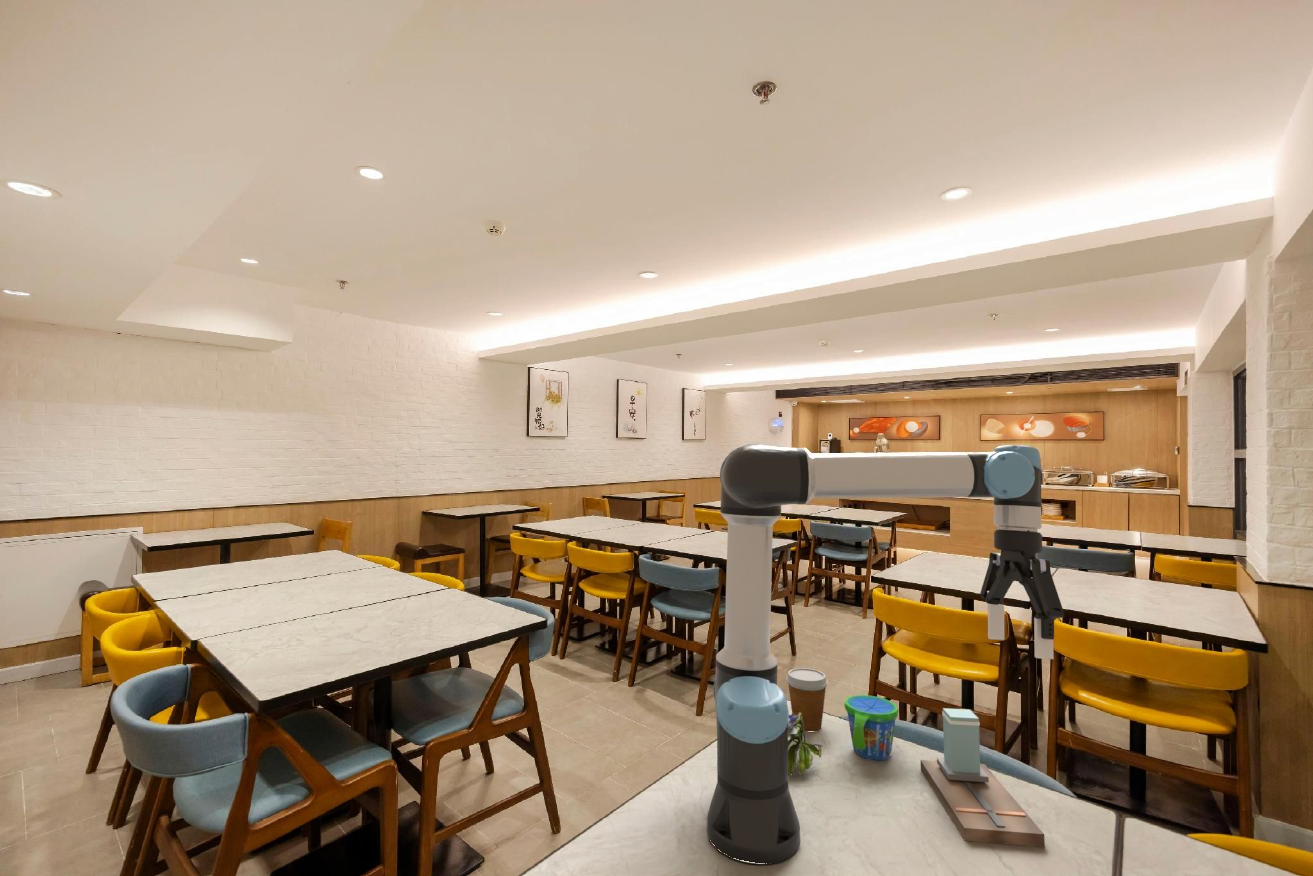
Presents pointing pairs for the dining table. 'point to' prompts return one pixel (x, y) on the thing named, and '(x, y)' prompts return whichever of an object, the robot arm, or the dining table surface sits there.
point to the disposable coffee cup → (807, 696)
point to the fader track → (983, 809)
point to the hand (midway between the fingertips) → (1018, 648)
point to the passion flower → (799, 745)
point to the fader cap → (961, 746)
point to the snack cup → (871, 725)
